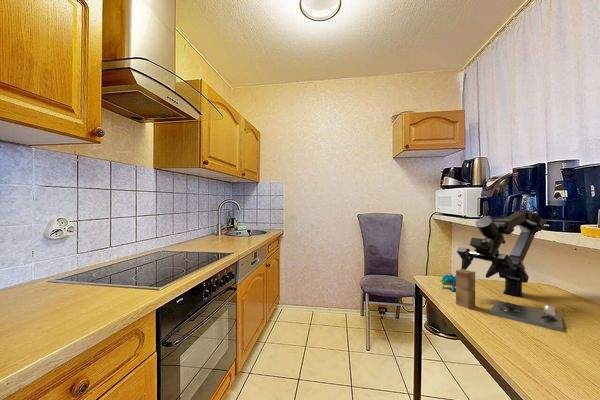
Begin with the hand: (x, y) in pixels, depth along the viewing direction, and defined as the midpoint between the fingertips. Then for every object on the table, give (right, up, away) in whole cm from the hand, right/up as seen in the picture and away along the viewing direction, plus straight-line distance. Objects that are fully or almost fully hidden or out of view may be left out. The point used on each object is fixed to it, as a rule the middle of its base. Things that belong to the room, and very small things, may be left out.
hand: (473, 274), depth 100 cm
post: (-5, -11, -2) cm, 12 cm away
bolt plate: (+10, -11, -11) cm, 19 cm away
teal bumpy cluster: (+2, -12, +16) cm, 20 cm away
